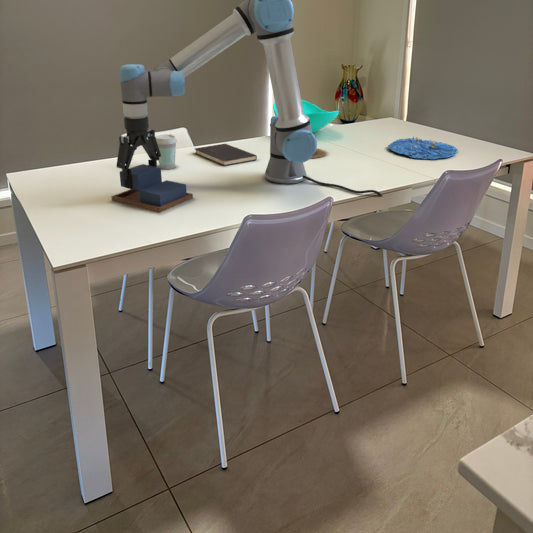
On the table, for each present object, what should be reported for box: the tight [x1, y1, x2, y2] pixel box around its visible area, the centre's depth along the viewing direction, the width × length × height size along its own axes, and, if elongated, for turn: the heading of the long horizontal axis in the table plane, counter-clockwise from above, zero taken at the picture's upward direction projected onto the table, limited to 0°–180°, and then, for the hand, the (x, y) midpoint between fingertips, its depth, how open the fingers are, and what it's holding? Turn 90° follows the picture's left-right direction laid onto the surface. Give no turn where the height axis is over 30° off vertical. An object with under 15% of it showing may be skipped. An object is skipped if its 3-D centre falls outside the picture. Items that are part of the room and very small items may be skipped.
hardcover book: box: [194, 143, 258, 167], centre depth 244 cm, size 16×23×2 cm
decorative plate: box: [387, 136, 459, 160], centre depth 256 cm, size 30×30×5 cm
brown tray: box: [111, 189, 194, 213], centre depth 194 cm, size 21×17×2 cm
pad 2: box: [140, 179, 188, 207], centre depth 191 cm, size 8×13×5 cm, turn 148°
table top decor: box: [272, 99, 340, 134], centre depth 284 cm, size 40×28×13 cm
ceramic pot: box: [310, 136, 327, 159], centre depth 250 cm, size 18×18×7 cm
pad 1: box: [119, 163, 163, 191], centre depth 193 cm, size 8×11×5 cm
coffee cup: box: [155, 134, 178, 170], centre depth 228 cm, size 8×9×12 cm
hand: (141, 183), depth 194 cm, fingers closed on pad 1, 11 cm apart
